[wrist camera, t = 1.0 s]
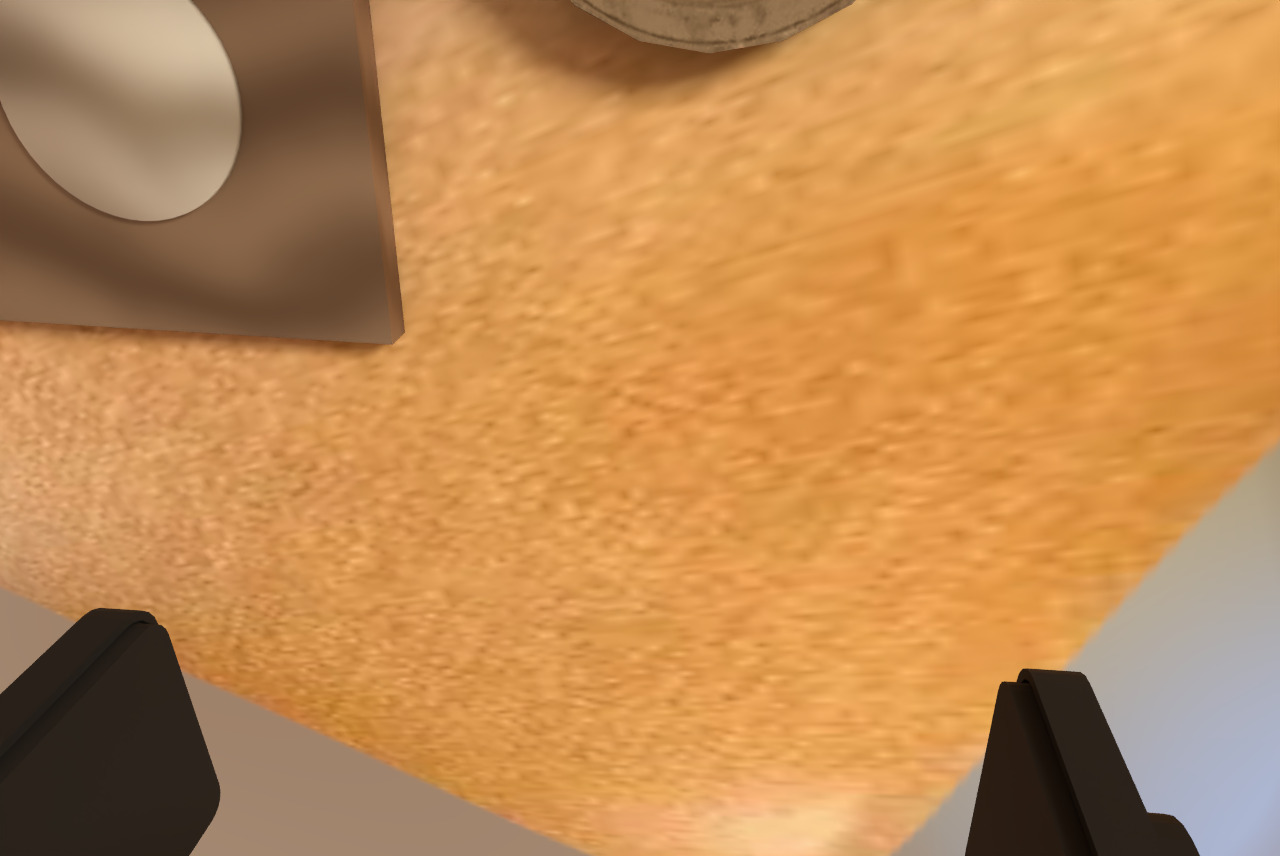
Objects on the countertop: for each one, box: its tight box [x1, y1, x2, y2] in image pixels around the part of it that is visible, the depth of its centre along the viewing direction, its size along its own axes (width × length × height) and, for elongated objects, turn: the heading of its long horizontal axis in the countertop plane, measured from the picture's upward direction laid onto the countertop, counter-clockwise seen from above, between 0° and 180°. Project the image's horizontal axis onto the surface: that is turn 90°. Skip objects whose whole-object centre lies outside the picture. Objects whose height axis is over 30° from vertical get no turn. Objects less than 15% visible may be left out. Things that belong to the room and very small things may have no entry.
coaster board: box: [0, 0, 405, 345], centre depth 36 cm, size 20×20×2 cm
